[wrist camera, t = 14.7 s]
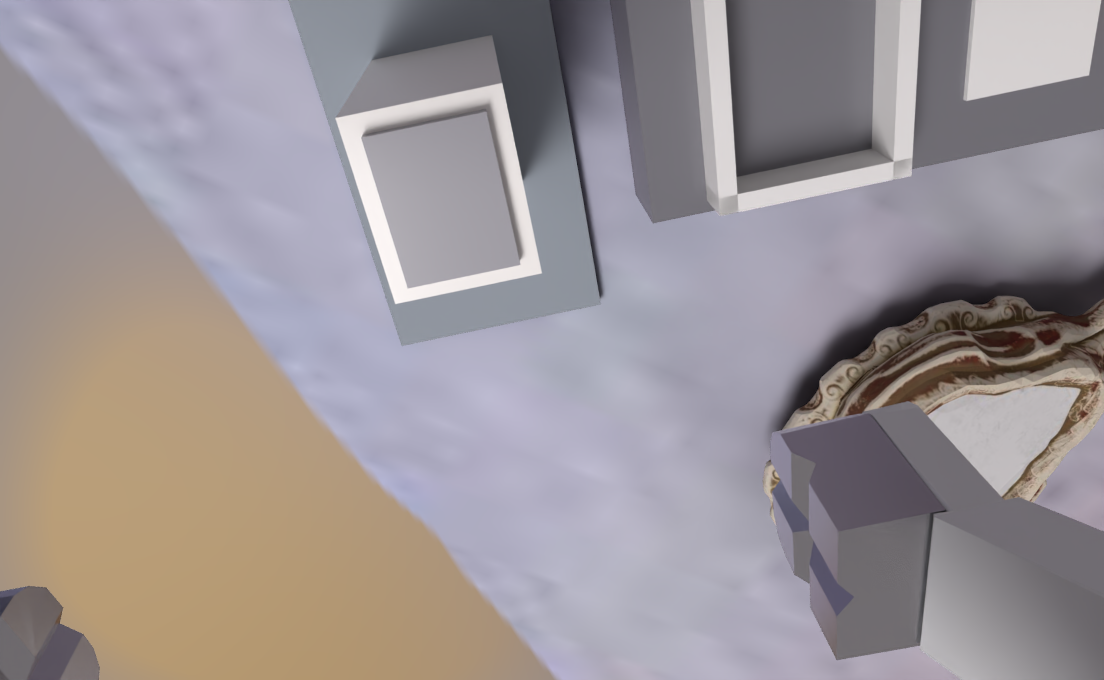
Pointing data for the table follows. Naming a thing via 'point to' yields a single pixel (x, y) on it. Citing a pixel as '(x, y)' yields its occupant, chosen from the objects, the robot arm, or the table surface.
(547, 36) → the slate mat
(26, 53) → the table surface
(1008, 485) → the hand mirror
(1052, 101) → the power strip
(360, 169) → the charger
